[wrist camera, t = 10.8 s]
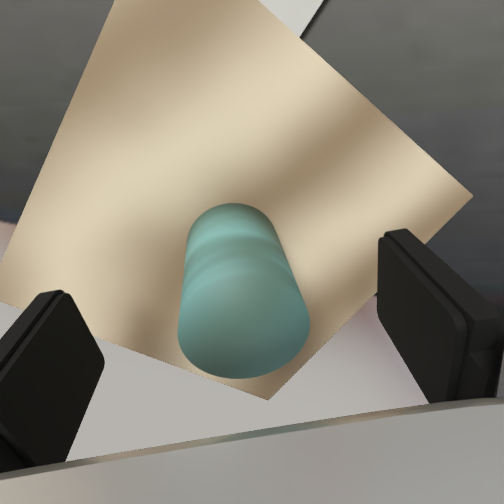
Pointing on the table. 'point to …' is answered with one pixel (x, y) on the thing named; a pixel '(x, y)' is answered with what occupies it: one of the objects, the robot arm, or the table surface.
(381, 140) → the lid
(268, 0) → the mat
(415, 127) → the table surface
